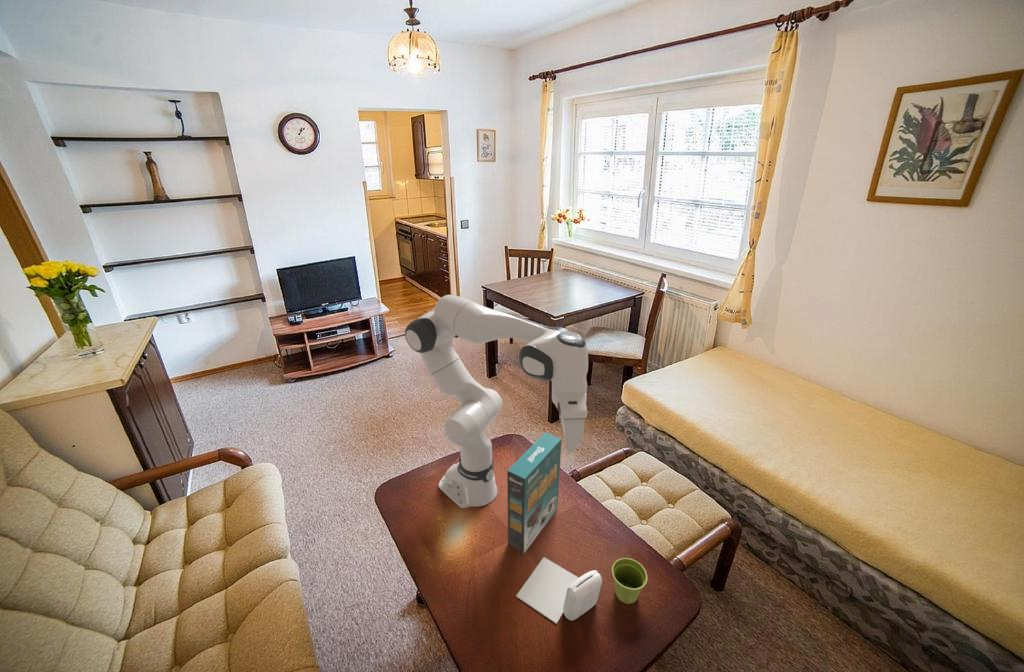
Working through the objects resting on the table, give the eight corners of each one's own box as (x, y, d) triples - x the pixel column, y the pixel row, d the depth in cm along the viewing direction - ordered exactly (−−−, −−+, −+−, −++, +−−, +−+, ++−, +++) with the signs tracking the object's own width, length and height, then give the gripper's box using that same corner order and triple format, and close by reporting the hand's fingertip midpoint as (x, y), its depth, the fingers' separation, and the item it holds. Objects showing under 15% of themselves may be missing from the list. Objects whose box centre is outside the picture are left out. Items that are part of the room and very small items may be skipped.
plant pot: (637, 617, 112) (641, 595, 108) (604, 599, 116) (607, 578, 113) (647, 589, 119) (651, 568, 116) (615, 573, 124) (618, 552, 120)
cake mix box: (542, 501, 149) (545, 432, 137) (557, 508, 146) (561, 438, 134) (507, 544, 133) (507, 470, 121) (523, 553, 130) (524, 478, 118)
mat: (516, 596, 117) (516, 595, 117) (543, 557, 128) (543, 556, 128) (556, 624, 110) (556, 623, 110) (582, 580, 121) (582, 579, 121)
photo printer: (588, 590, 118) (594, 563, 112) (598, 603, 115) (606, 576, 109) (560, 610, 113) (565, 582, 107) (570, 624, 110) (576, 597, 104)
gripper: (552, 375, 116) (551, 417, 122) (561, 416, 97) (560, 464, 103) (575, 374, 116) (573, 416, 122) (588, 416, 97) (586, 463, 103)
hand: (567, 438), depth 112 cm, fingers open, 8 cm apart
